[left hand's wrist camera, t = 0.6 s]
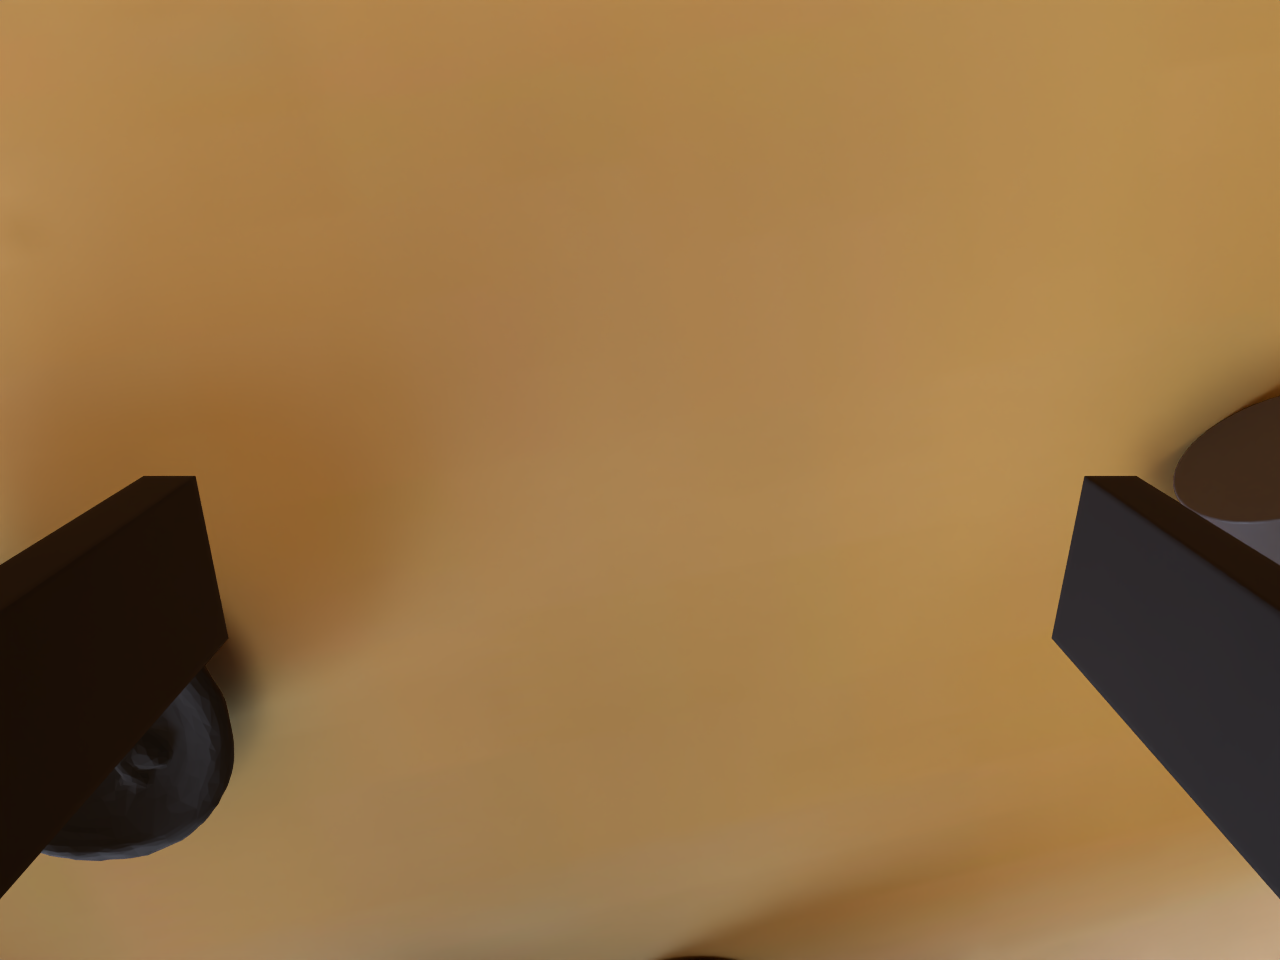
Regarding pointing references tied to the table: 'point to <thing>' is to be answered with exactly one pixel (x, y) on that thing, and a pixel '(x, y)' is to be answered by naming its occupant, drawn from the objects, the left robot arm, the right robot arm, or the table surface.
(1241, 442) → the rod
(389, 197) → the table surface
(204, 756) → the oil lamp
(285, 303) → the table surface
